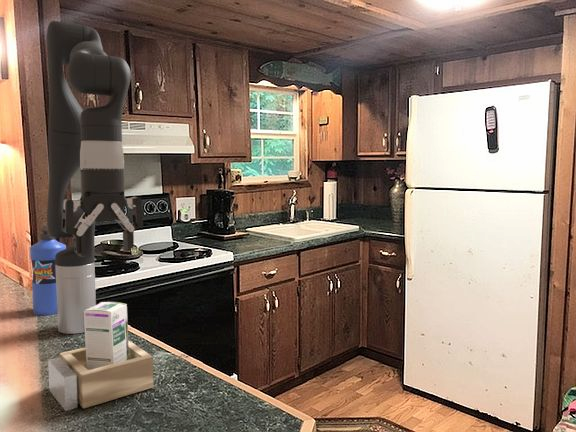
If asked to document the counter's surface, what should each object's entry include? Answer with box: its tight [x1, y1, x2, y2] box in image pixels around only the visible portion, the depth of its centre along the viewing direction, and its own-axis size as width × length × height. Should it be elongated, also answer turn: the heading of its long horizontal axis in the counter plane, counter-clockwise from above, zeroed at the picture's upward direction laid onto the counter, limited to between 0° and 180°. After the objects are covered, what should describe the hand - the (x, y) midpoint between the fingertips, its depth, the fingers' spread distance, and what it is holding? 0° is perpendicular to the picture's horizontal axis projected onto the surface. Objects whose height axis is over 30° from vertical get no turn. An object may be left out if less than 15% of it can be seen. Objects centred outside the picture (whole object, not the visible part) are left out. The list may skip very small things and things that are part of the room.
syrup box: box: [84, 301, 129, 370], centre depth 93 cm, size 6×6×14 cm
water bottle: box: [29, 224, 67, 316], centre depth 140 cm, size 9×9×25 cm
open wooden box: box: [59, 339, 155, 409], centre depth 93 cm, size 13×13×6 cm
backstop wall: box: [47, 356, 79, 412], centre depth 88 cm, size 10×2×6 cm, turn 41°
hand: (104, 253), depth 91 cm, fingers open, 8 cm apart
